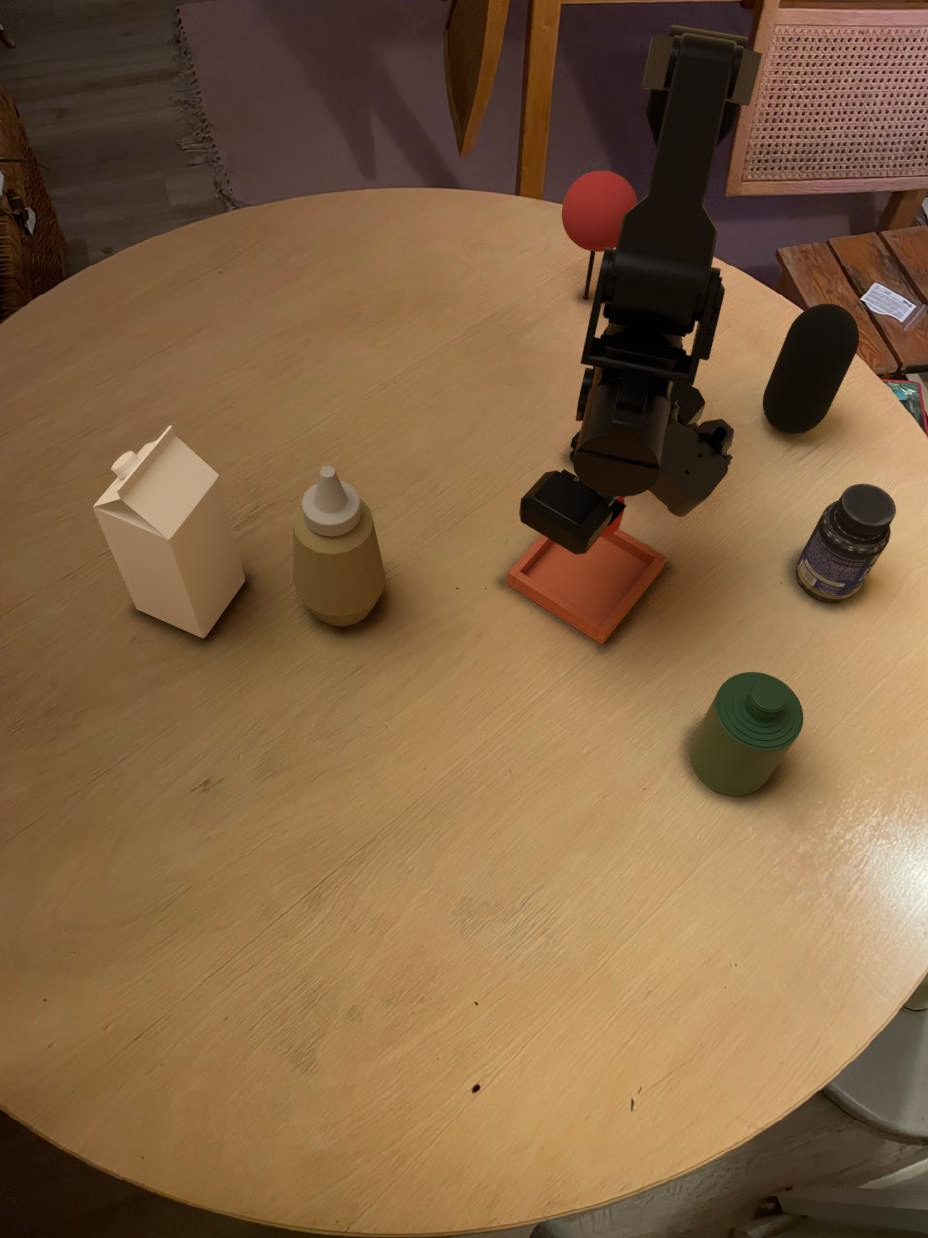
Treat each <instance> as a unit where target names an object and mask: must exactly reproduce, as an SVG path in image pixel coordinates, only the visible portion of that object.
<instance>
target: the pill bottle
mask: <svg viewBox="0 0 928 1238" xmlns="http://www.w3.org/2000/svg"><path fill="white" fill-rule="evenodd" d="M896 507H897V506H896V504H895V501H894V499H893V498H892V496H891V495H890V494H889V493H888V492H887V491H885V490H884V489H882V488H881V487H879V486H876V485H873V484H869V483H856V484H853V485H850V486H848V487H847V488H846V489H844V491H843V492H842V493H841V495H840V497H839V499H838V500H835V501H833V502H832V503H830V504H828V505H827V506H826V507H825V508H824V510H823V511H822V514H821V515H820V517H819V518H818V521H817V523H816V525H815V526H814V529H813V531H812V532H811V534H810V536H809V538H808V540H807V542H806V544H805V546H804V548H803V549H802V551H801V553H800V555H799V557H798V560H797V562H796V563H795V564H796V565H795V574H796V575H795V576H796V579H797V581H798V583H799V584H800V586H801V588H802V589H803V590H804V591H805V592H806V593H807V594H808V595H810V596H811V597H813V598H814V599H817V600H819V601H822V602H826V603H841V602H845V601H848V600H849V599H852V598H853V597H854V596H856V594H857V593H858V592H859V590H860V588H861V587H862V585H863V584H864V582H865V581H866V579H867V577H868V576H869V574H870V572H871V571H872V569H873V568H874V566H875V564H876V563H877V561H878V560H879V558H880V557H881V555H882V553H883V552H884V550H885V549H886V548H887V546H888V544H889V543H890V540H891V533H892V529H891V524H892V522H893V521H894V519H895V517H896V513H897V508H896Z"/></svg>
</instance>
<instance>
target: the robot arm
mask: <svg viewBox="0 0 928 1238" xmlns="http://www.w3.org/2000/svg"><path fill="white" fill-rule="evenodd" d="M669 29H670V30H669V33H668V35H655V34H654V35H651V38H650V44H649V48H648V53H647V58H646V63H645V69H644V73H643V78H642V82H641V89H644V90H649V97H648V101H647V107H646V110H645V111H646V112H645V114H646V118H647V119H646V120H647V123H648V126H649V129H650V133H651V136H652V140H653V143H654V146H655V149H656V150H655V152H654V153H655V154H654V158H653V163H652V166H651V171H650V175H649V180H648V185H647V190H646V194H645V197H643V198H642V199H641V200H640V201H637V204H636V205H635V206H633V207H632V208H631V209H630V210H628V211H627V212H626V213H625V214H624V216H623V219H622V223H621V228H620V232H619V236H618V240H617V244H616V247H615V248H613V249H612V248H607V247H605V250H604V251H603V254H602V258H601V262H600V268H599V272H598V277H597V281H596V287H595V291H594V296H593V301H592V306H591V311H590V315H589V320H588V324H587V325H588V326H587V329H586V335H585V339H584V345H583V349H582V354H581V359H580V364H581V365H585V366H590V367H585V369H584V373H583V377H582V380H581V381H582V382H581V386H580V390H579V396H578V401H577V407H576V414H575V422H579V423H580V422H581V425H580V426H581V427H580V429H579V431H577V433H576V434H575V435H574V436H573V437H572V438H571V442H570V448H571V449H572V450H571V451H570V453H569V456H568V459H569V460H570V461H571V462H572V463H573V464H572V465H573V472H574V473H575V474H574V473H572V472H570V471H568V470H567V469H565V468H564V469H562V470H561V471H559V470H557V469H556V470H550V471H545V472H544V473H543V474H542V475H541V477H539V479H538V480H537V481H536V482H535V483H534V484H532V486H531V487H530V488H529V489H528V491H527V492H525V494H524V495H523V496H522V497H521V498H520V503H519V505H520V506H519V512H518V515H519V519H520V523H522V524H524V525H526V526H527V527H528V528H530V529H532V530H534V531H535V532H537V533H539V534H541V535H544V536H545V537H547V538H549V539H550V540H552V541H554V542H555V543H557V544H559V545H560V546H562V547H563V548H565V549H567V550H568V551H570V552H572V553H573V554H575V555H578V554H586V553H587V551H588V550H589V549H590V548H591V547H592V546H593V544H594V543H595V542H596V541H597V540H598V538H599V537H600V536H601V535H602V534H603V533H604V531H605V529H606V527H607V526H609V525H611V524H612V523H613V521H614V520H615V519H616V518H617V517H618V516H619V514H620V513H621V512H622V511H623V510H624V509H626V508H627V504H626V503H625V504H624V503H622V502H620V501H618V500H617V499H616V498H617V497H623V499H624V500H625V498H626V497H634V496H639V495H641V494H643V493H645V492H648V491H649V492H650V493H651V494H652V495H653V496H654V497H655V498H657V500H659V501H660V502H661V503H662V504H663V505H664V506H665V507H666V508H667V511H668V512H669V513H670V514H672V515H673V516H676V517H678V518H683V517H686V516H687V515H688V514H690V513H691V512H692V511H693V510H695V509H696V508H697V507H698V506H700V505H701V504H702V503H703V502H705V500H707V499H708V498H709V496H710V495H711V494H713V492H714V490H715V489H716V488H717V487H718V485H719V484H720V483H721V482H722V481H723V480H724V478H725V477H726V475H727V474H728V472H729V466H730V465H731V464H732V463H731V461H732V459H733V458H734V457H733V456H732V454H730V453H729V454H728V451H729V450H730V449H731V447H732V444H733V439H734V436H735V429H734V428H733V427H732V426H731V425H730V424H729V423H727V421H726V420H724V419H723V418H718V419H712V420H711V419H710V420H705V421H702V423H700V424H699V425H698V422H699V421H700V419H701V418H702V415H703V413H704V409H705V408H706V407H705V406H706V403H707V402H706V399H705V398H704V396H703V394H702V392H701V391H700V389H698V388H697V387H695V386H694V384H695V381H696V376H697V372H698V369H699V364H700V360H702V361H709V360H710V357H711V352H712V348H713V344H714V340H715V335H716V331H717V327H718V323H719V318H720V315H721V310H722V306H723V301H724V299H725V298H724V297H725V293H726V288H725V286H724V285H723V277H722V276H721V270H722V269H721V268H720V267H715V266H713V263H714V262H713V261H714V255H715V250H716V244H717V238H718V229H717V227H716V225H715V224H714V222H713V220H712V218H711V216H710V215H709V212H708V211H707V209H706V208H705V205H706V200H707V194H708V189H709V185H710V181H711V180H710V179H711V174H712V171H713V165H714V160H715V155H716V151H717V149H716V148H718V147H719V145H721V143H722V142H724V140H725V138H727V136H729V134H730V133H731V132H732V130H733V129H734V127H735V123H736V119H737V115H738V112H739V108H740V106H744V107H750V106H751V102H752V98H753V95H754V94H753V93H754V91H755V87H756V83H757V79H758V75H759V70H760V66H761V64H762V63H761V62H762V59H763V55H764V54H763V53H762V52H758V51H755V50H752V49H748V48H747V46H748V42H749V41H748V40H749V37H748V36H744V35H737V34H732V33H724V32H719V31H713V30H707V29H700V28H695V27H688V26H682V25H675V24H671V25H670V28H669ZM602 305H603V310H602ZM601 310H602V316H603V318H604V319H606V320H608V321H607V326H606V327H605V329H603V333H602V334H600V337H597V336H596V333H597V328H598V323H599V318H600V315H601ZM696 322H697V324H696ZM695 325H696V329H695ZM694 329H695V334H694V337H693V338H694V339H693V343H692V346H691V350H690V351H691V352H690V354H687V350H686V349H684V343H683V338H686V336H687V335H690V334H692V333H694ZM591 367H592V368H591ZM624 511H625V510H624Z"/></svg>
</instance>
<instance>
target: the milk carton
mask: <svg viewBox="0 0 928 1238" xmlns="http://www.w3.org/2000/svg"><path fill="white" fill-rule="evenodd" d="M110 470H111V472H113V473H114V474H115V475H116V476H117V477H116V479H114V481H113V482H111V484H110V485H109V487H108V488H107V489H105V492H104V493H102V495H101V496H100V497H99V498H98V500H97V501H96V502H95V503H94V504H93V506H92V510H93V511H94V514H95V516H96V519H97V521H98V523H99V526H100V528H101V530H102V533H103V535H104V537H105V540H106V542H107V544H108V546H109V550H110V552H111V553H112V556H113V558H114V560H115V563H116V565H117V568H118V570H119V573H120V575H121V576H122V579H123V581H124V584H125V586H126V589H127V591H128V593H129V596H130V598H131V600H132V602H133V605H134V606H135V609H136V610H137V611H139V612H142V613H144V614H146V615H148V616H150V617H153V618H156V619H157V620H160V621H162V622H165V623H167V624H169V625H171V626H174V627H176V628H178V629H180V630H181V631H182V630H183V631H184V632H187V633H189V634H192V635H194V636H196V637H199V638H201V639H205V638H206V637H207V636H208V635H209V633H210V632H211V630H212V629H213V627H214V626H215V625H216V623H217V622H218V620H219V619H220V617H221V616H222V615H223V613H224V612H225V610H226V609H227V608H228V606H229V605H230V603H231V602H232V601H233V599H234V597H235V596H236V595H237V594H238V592H239V590H240V589H241V588H242V586H243V585H244V583H245V582H246V577H245V573H244V569H243V565H242V562H241V557H240V554H239V549H238V545H237V542H236V538H235V534H234V529H233V525H232V521H231V517H230V514H229V510H228V507H227V503H226V499H225V494H224V490H223V486H222V483H221V482H222V481H221V479H220V475H219V473H218V472H216V470H214V469H213V468H212V467H211V466H210V465H209V464H208V463H207V462H205V461H204V459H202V458H201V457H200V456H199V455H198V454H197V453H195V452H194V451H193V450H192V449H191V448H190V447H189V446H188V445H187V444H185V442H183V441H182V440H181V439H180V438H179V437H178V436H177V435H176V433H175V430H174V426H173V425H171V424H170V425H168V426H167V428H166V429H165V430H164V431H163V433H162V434H161V435H160V436H159V437H158V438H157V440H154V441H151V442H148V443H146V444H144V445H143V447H141V449H140V450H139V451H138V452H137V453H135V451H133V450H129V451H126V452H124V453H123V454H121V456H119V457H118V458H117V459H116V460H115V461H114V463H113V464H112V466H111V469H110Z"/></svg>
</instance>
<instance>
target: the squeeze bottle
mask: <svg viewBox="0 0 928 1238" xmlns="http://www.w3.org/2000/svg"><path fill="white" fill-rule="evenodd" d="M359 494H360V493H359V492H358V491H357V489H355V488H354V487H353V485H352V484H350V483H347V482H345V481H343V480H340V478H339V476H338V474H337V471H336V469H335V467H334V466H331V465H324V466H321V468H320V469H319V473H318V477H317V482H316V483H313V484H312V485H310V487H308V489H307V490H306V491H305V492H304V493H303V496H302V500H301V505H300V506H299V507H298V508H297V510H295V511H296V512H295V515H294V518H293V522H292V558H293V559H292V561H293V562H292V563H293V565H292V566H293V567H292V570H293V573H292V575H293V577H292V579H293V583H294V588H295V592H296V595H297V596H298V597H299V599H300V601H302V602H303V604H304V605H305V606H306V607H307V609H309V610H310V611H311V613H312V614H313V615H314V616H315V617H316V618H317V619H318V620H320V621H321V622H324V623H325V624H327V625H328V626H335V627H347V626H351V625H356V624H358V623H359V622H360V621H362V620H364V619H366V618H367V616H368V615H369V614H370V613H371V611H372V610H373V608H374V606H375V605H376V603H377V602H378V600H379V598H380V596H381V595H382V593H383V591H384V587H385V583H386V582H385V581H386V577H387V575H386V571H385V567H384V562H383V558H382V554H381V549H380V545H379V541H378V535H377V532H376V531H377V530H376V528H375V523H374V519H373V514H372V511H371V508H370V507H369V506H368V505H367V504H366V503H365V501H364V500H363V499H362V498H360V495H359Z"/></svg>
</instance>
